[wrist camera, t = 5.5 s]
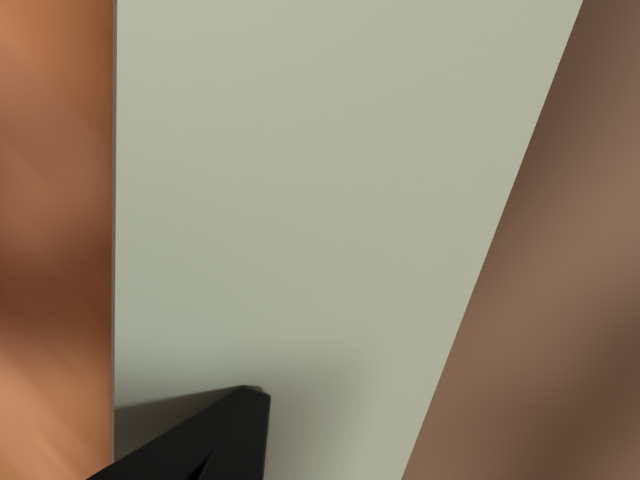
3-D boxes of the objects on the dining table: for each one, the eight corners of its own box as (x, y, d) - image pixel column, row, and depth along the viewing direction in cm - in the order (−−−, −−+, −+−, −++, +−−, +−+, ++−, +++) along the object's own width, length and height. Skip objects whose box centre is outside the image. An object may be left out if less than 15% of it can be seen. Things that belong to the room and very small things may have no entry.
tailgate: (662, -211, 7) (121, -833, 3) (350, 614, 15) (111, 746, 11) (562, -169, 8) (110, -539, 4) (328, 564, 17) (109, 666, 13)
